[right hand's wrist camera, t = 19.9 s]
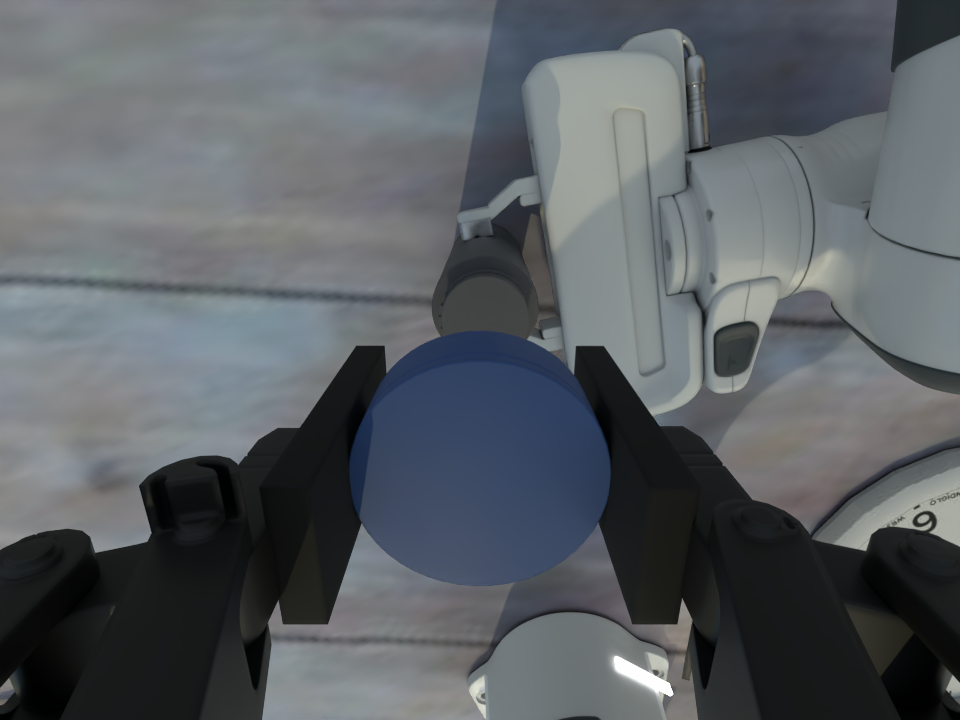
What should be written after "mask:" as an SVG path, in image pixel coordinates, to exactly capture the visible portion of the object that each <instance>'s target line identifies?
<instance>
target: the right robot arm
mask: <svg viewBox="0 0 960 720" xmlns="http://www.w3.org/2000/svg"><path fill="white" fill-rule="evenodd" d="M385 376H386V360H385V346H356V347H355V349H354V350H353V352H352V353H351V354H350V356H349V357H348V359H347V360H346V362H345V363H344V365H343V366H342V368H341V369H340V370H339V372H338V373H337V375H336V376H335V378H334V379H333V381H332V382H331V383H330V385H329V386H328V388H327V389H326V391H325V392H324V394H323V395H322V397H321V398H320V399H319V401H318V402H317V404H316V405H315V407H314V408H313V410H312V411H311V412H310V414H309V415H308V417H307V418H306V420H305V421H304V423H303V424H302V426H301V427H300V428H277V429H275V430H274V431H272V432H271V433H269V434H267V435H266V436H264V437H262V438H261V439H259V440H258V441H257V443H256V444H255V445H254V446H253V448H252V449H251V450H250V451H249V452H248V456H245V457H244V459H243V460H242V461H241V462H240V464H239V465H238V464H237V463H236V462H234V461H233V460H232V459H230V458H226V457H222V456H198V457H193V458H189V459H184V460H180V461H177V462H175V463H172V464H169V465H167V466H164V467H162V468H161V469H159V470H157V471H156V472H154V473H152V474H151V475H149V476H148V477H147V478H146V479H145V480H144V481H143V482H142V483H141V484H140V485H139V488H140V491H141V495H142V499H143V502H144V506H145V510H146V513H147V517H148V521H149V524H150V528H151V532H152V534H151V536H150V538H149V540H148V542H145V543H141V544H137V545H132V546H127V547H122V548H118V549H113V550H108V551H103V552H98V553H95V551H94V548H93V545H92V542H91V539H90V537H89V536H88V535H87V534H86V533H84V532H83V531H80V530H73V529H62V530H54V531H46V532H42V533H38V534H37V535H35V534H34V535H31V536H28V537H25V538H23V539H21V540H20V541H18V542H16V543H13V544H11V545H9V546H7V547H5V548H3V549H1V550H0V687H1V686H2V685H3V684H4V683H5V682H6V681H7V679H8V678H9V679H10V681H11V683H12V685H13V688H14V690H15V693H14V694H13V695H12V696H11V697H10V698H9V699H8V701H7V702H6V703H5V704H4V705H2V706H1V707H0V720H262V715H263V707H264V699H265V691H266V684H267V676H268V668H269V660H270V652H271V638H270V631H269V626H268V621H269V619H270V617H271V615H272V612H273V610H274V608H275V606H276V604H277V602H278V599H279V604H280V610H281V616H282V621H283V624H328V622H329V619H330V616H331V613H332V610H333V607H334V604H335V601H336V598H337V595H338V592H339V589H340V586H341V583H342V580H343V577H344V574H345V571H346V568H347V565H348V562H349V559H350V556H351V553H352V550H353V547H354V544H355V541H356V538H357V535H358V532H359V529H360V526H361V523H362V522H361V521H360V519H359V517H358V514H357V512H356V510H355V507H354V505H353V501H352V494H351V485H350V475H349V456H350V451H351V446H352V444H353V441H354V438H355V435H356V432H357V430H358V428H359V426H360V424H361V422H362V419H363V417H364V415H365V413H366V411H367V409H368V407H369V404H370V402H371V400H372V398H373V396H374V394H375V392H376V390H377V388H378V386H379V384H380V383H381V381H382V380H383V378H384V377H385ZM574 376H575V377H576V378H577V380H578V381H579V383H580V385H581V387H582V388H583V390H584V392H585V394H586V396H587V398H588V401H589V403H590V405H591V407H592V409H593V411H594V414H595V416H596V418H597V420H598V422H599V424H600V427H601V429H602V431H603V434H604V436H605V439H606V441H607V444H608V448H609V453H610V457H611V479H610V488H609V496H608V501H607V504H606V507H605V509H604V511H603V514H602V516H601V518H600V520H599V525H600V528H601V531H602V534H603V537H604V540H605V543H606V546H607V549H608V552H609V555H610V558H611V561H612V564H613V567H614V570H615V573H616V576H617V579H618V582H619V585H620V588H621V591H622V594H623V597H624V600H625V603H626V606H627V609H628V612H629V615H630V618H631V621H632V624H677V623H678V618H679V612H680V606H681V601H682V598H683V600H684V602H685V605H686V607H687V609H688V611H689V613H690V615H691V617H692V620H693V621H692V626H691V631H690V636H689V642H688V647H687V652H686V657H685V663H684V668H683V676H682V679H686V680H689V679H690V674H691V669H692V674H693V682H694V690H695V698H696V706H697V713H698V720H960V704H959V703H958V702H957V701H956V700H955V699H954V698H953V697H952V696H951V695H950V694H949V692H948V691H947V690H946V689H947V687H948V684H949V682H950V680H951V678H952V675H953V676H954V677H955V678H956V679H957V681H958V682H959V683H960V547H959V546H958V545H955V544H953V543H951V542H949V541H947V540H944V539H942V538H941V537H939V536H937V535H934V534H931V533H929V532H924V531H921V530H917V529H910V528H902V527H886V528H879V529H878V530H877V531H875V532H874V533H873V534H871V537H870V540H869V543H868V546H867V549H866V551H864V550H859V549H854V548H849V547H845V546H840V545H835V544H830V543H825V542H821V541H817V540H813V539H811V537H810V535H809V533H808V531H807V530H806V529H805V528H804V526H803V525H802V524H801V523H800V521H798V520H797V519H796V518H794V517H793V516H791V515H790V514H788V513H787V512H786V511H783V510H781V509H779V508H777V507H774V506H772V505H770V504H767V503H763V502H759V501H755V500H752V499H751V498H750V496H749V495H748V494H747V493H746V491H745V490H744V489H743V488H742V487H741V485H740V484H739V483H738V482H737V480H736V479H735V478H734V477H733V475H732V474H731V473H730V472H729V471H728V469H727V468H726V467H725V466H723V465H722V462H721V461H720V460H719V458H718V457H717V456H716V455H715V454H713V451H712V450H711V449H710V447H709V446H708V445H707V444H706V442H705V441H704V440H703V439H702V438H701V437H699V436H698V435H696V434H694V433H693V432H691V431H690V430H688V429H686V428H685V427H683V426H659V425H658V424H657V422H656V421H655V419H654V418H653V416H652V415H651V413H650V412H649V411H648V409H647V408H646V406H645V405H644V403H643V402H642V400H641V399H640V397H639V396H638V395H637V393H636V392H635V390H634V389H633V387H632V386H631V384H630V383H629V382H628V380H627V379H626V377H625V376H624V374H623V373H622V371H621V370H620V368H619V367H618V366H617V364H616V363H615V361H614V360H613V358H612V357H611V355H610V354H609V353H608V351H607V350H606V348H605V347H604V346H576V351H575V365H574Z"/></svg>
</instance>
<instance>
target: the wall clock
mask: <svg viewBox="0 0 960 720" xmlns="http://www.w3.org/2000/svg"><path fill="white" fill-rule="evenodd" d="M886 527H902V528H910V529H917V530H921V531H924V532H929V533H931V534H934V535H937V536H939V537H941V538H942V539H944V540H947V541H949V542H951V543H953V544H955V545H958V546H959V547H960V448H954V449H949V450H944V451H942V452H939V453H937V454H934V455H932V456H929V457H927V458H925V459H922V460H920V461H917V462H915V463H912V464H910V465H907V466H905V467H902V468H900V469H897V470H895V471H893V472H891V473H890V474H888V475H887V476H885V477H883V478H882V479H880V480H879V481H877V482H876V483H874V484H873V485H871V486H869V487H868V488H866V489H865V490H863V491H862V492H860V493H859V494H857V495H855V496H854V497H852V498H851V499H849V500H848V501H847V502H846V503H845V504H844V505H843V506H842V507H841V508H840V509H839V510H838V511H837V512H836V513H835V514H834V515H833V516H832V517H831V518H830V519H829V520H828V521H827V522H826V523H825V524H824V525H823V526H822V527H821V528H820V529H819V530H818V531H816V532H815V534H814V535H813V537H812V538H811V539H813V540H817V541H821V542H825V543H830V544H835V545H840V546H845V547H849V548H854V549H859V550H864V551H866V549H867V546H868V543H869V540H870V537H871V534H873V533H874V532H875V531H877V530H878V529H879V528H886ZM946 690H947V691H948V692H949V694H950V695H951V696H952V697H953V698H954V699H955V700H956V701H957V702H958V703H959V704H960V683H959V682H958V681H957V679H956V678H955V677H954V676H953V675H952V678H951V680H950V682H949V684H948V687H947V689H946Z"/></svg>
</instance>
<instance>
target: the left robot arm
mask: <svg viewBox="0 0 960 720" xmlns="http://www.w3.org/2000/svg"><path fill="white" fill-rule="evenodd" d="M683 46H684V48H685V49H686V51H687V54H688V57H687V58H685V59H684V50H683ZM891 71H892V72H894V73H895V74H894V79H893V85H892V90H891V95H890V101H889V106H888V111H885V112H879V113H874V114H869V115H864V116H859V117H854V118H850V119H846V120H844V121H841V122H838V123H836V124H834V125H832V126H830V127H828V128H826V129H824V130H822V131H820V132H818V133H815V134H812V135H807V136H789V135H772V136H765V137H761V138H756V139H751V140H747V141H742V142H737V143H732V144H728V145H723V146H718V147H713V148H712V147H710V135H709V119H708V110H707V105H706V99H705V98H706V96H705V93H704V92H705V82H706V63H705V59H704V56H703V54H697V52H696V49H695V46H694V44H693V42H692V40H691V39H690V38H689V37H688V36H687V35H686V34H685V33H683V32H682V31H680V30H677V29H674V28H662V29H658V30H653V31H649V32H645V33H640V34H637V35H634V36H632V37H630V38H629V39H627V40H626V41H625V42H624V43H623V44H622V45H621V46H620V47H619V48H618V50H613V51H598V52H587V53H579V54H571V55H565V56H559V57H554V58H549V59H545V60H542V61H540V62H538V63H537V64H536V65H535V66H534V67H533V68H532V70H531V71H530V72H529V74H528V75H527V77H526V79H525V81H524V83H523V85H522V89H521V94H522V101H523V107H524V114H525V120H526V126H527V133H528V139H529V145H530V152H531V158H532V165H533V171H534V175H533V176H528V177H523V178H519V179H514V180H513V181H512V182H511V183H510V184H509V185H507V186H506V187H505V188H504V189H503V190H502V191H501V192H500V193H499V194H498V195H497V196H496V197H494V198H493V199H492V200H491V201H490V202H489V203H488V206H485V207H480V208H475V209H470V210H466V211H462V212H459V213H457V214H456V215H457V220H458V225H459V229H460V233H461V238H462V241H466V240H471V239H474V238H475V237H476V236H479V237H486V236H491V235H493V230H492V225H491V220H492V219H493V218H494V217H495V216H496V215H498V214H499V213H500V212H501V211H502V210H503V209H504V208H505V207H507V206H508V205H509V204H510V203H511V202H512V201H513V200H514V199H516V198H517V197H518V202H519V203H520V204H521V205H522V206H528V205H533V204H538V203H539V209H540V215H541V222H542V228H543V234H544V241H545V247H546V253H547V260H548V266H549V273H550V279H551V285H552V292H553V298H554V304H555V311H556V317H552V318H547V319H543V320H540V321H539V326H540V329H537V328H534V330H533V331H532V333H531V335H530V336H529V338H528V339H527V340H529V341H531V342H533V343H535V344H537V345H539V346H541V347H543V348H544V349H546V350H548V351H554V350H560V349H562V355H563V361H564V364H565V365H566V366H567V367H568V368H569V369H570V371H571V372H572V373H573V375H574V365H575V351H576V346H604V347H605V348H606V350H607V351H608V353H609V354H610V355H611V357H612V358H613V360H614V361H615V363H616V364H617V366H618V367H619V368H620V370H621V371H622V373H623V374H624V376H625V377H626V379H627V380H628V382H629V383H630V384H631V386H632V387H633V389H634V390H635V392H636V393H637V395H638V396H639V397H640V399H641V400H642V402H643V403H644V405H645V406H646V408H647V409H648V411H649V412H650V413H651V415H652V416H654V415H658V414H661V413H665V412H668V411H671V410H674V409H676V408H679V407H681V406H683V405H684V404H686V403H687V402H689V401H690V400H691V399H692V398H694V397H695V395H696V394H697V393H698V391H699V390H700V387H701V385H702V384H703V385H704V386H706V387H707V388H709V389H710V390H712V391H713V392H715V393H730V392H735V391H738V390H740V389H742V388H743V387H744V386H745V385H746V384H747V382H748V380H749V378H750V375H751V372H752V368H753V365H754V362H755V359H756V356H757V353H758V349H759V346H760V343H761V341H762V338H763V335H764V332H765V329H766V327H767V324H768V322H769V319H770V317H771V314H772V312H773V310H774V308H775V305H776V303H777V301H778V299H783V298H786V297H789V296H791V295H794V294H796V293H799V292H803V291H808V290H813V291H819V292H823V293H825V294H827V295H828V296H829V297H830V298H831V299H832V302H831V306H832V309H833V310H834V312H835V313H836V314H837V315H838V316H839V317H840V319H841V320H842V321H843V322H844V323H845V324H846V325H847V326H848V327H849V328H850V329H851V330H852V331H853V332H854V333H855V334H856V335H857V336H858V337H859V338H860V339H861V340H862V341H863V342H864V343H865V344H866V345H867V346H869V347H870V348H871V349H872V350H873V351H874V352H875V353H876V354H877V355H878V356H880V357H881V358H882V359H883V360H884V361H885V362H886V363H888V364H889V365H890V366H891V367H893V368H894V369H895V370H897V371H898V372H900V373H901V374H903V375H905V376H906V377H908V378H910V379H911V380H913V381H915V382H917V383H919V384H921V385H923V386H926V387H929V388H932V389H935V390H939V391H943V392H948V393H953V394H960V0H897V10H896V21H895V32H894V43H893V53H892V63H891ZM689 150H690V151H689ZM686 151H689V152H688V153H686V154H685V152H686ZM490 218H491V219H490ZM668 667H669V662H668V658H667V654H666V652H665V650H663V649H662V648H660V647H658V646H655V645H653V644H650V643H646V642H643V641H640V640H638V639H636V638H635V637H634V636H632V635H631V634H630V633H629V632H628V631H626V630H625V629H624V628H623V627H621V626H620V625H618V624H616V623H614V622H613V621H610V620H608V619H606V618H603V617H600V616H597V615H592V614H587V613H579V612H562V613H554V614H548V615H544V616H540V617H537V618H534V619H532V620H529V621H527V622H525V623H523V624H521V625H520V626H518V627H516V628H515V629H513V630H512V631H511V632H510V633H508V634H507V635H506V636H505V637H504V638H503V639H502V640H501V642H500V643H499V644H498V646H497V647H496V649H495V651H494V653H493V654H492V656H491V658H490V659H489V660H488V662H487V663H485V664H484V665H482V666H481V667H479V668H478V669H477V670H475V671H474V672H473V673H472V674H471V675H470V676H469V678H468V688H469V692H470V694H471V696H472V698H473V699H474V701H475V703H476V704H477V706H478V708H479V709H480V711H481V713H482V714H483V716H484V718H485V720H667V719H666V715H665V712H664V708H663V705H662V703H663V697H664V693H665V694H667V695H669V696H671V695H673V693H672V690H671V687H670V684H669V683H667V682H666V679H667V673H668Z"/></svg>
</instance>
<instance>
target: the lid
mask: <svg viewBox="0 0 960 720" xmlns="http://www.w3.org/2000/svg"><path fill="white" fill-rule="evenodd" d="M349 475H350V485H351V494H352V501H353V505H354V507H355V510H356V512H357V514H358V517H359V519H360V521H361V522H362V524H363V526H364V527H365V529H366V530H367V532H368V533H369V534H370V536H371V537H372V538H373V539H374V541H375V542H376V543H377V544H378V545H379V546H380V547H381V548H382V549H383V550H384V551H385V552H386V553H387V554H389V555H390V556H391V557H393V558H394V559H395V560H397V561H398V562H399V563H401V564H403V565H405V566H406V567H408V568H410V569H411V570H413V571H415V572H418V573H420V574H422V575H425V576H427V577H430V578H433V579H436V580H440V581H443V582H448V583H453V584H458V585H469V586H492V585H500V584H507V583H512V582H516V581H521V580H524V579H527V578H530V577H533V576H535V575H538V574H540V573H542V572H544V571H546V570H549V569H550V568H552V567H554V566H555V565H557V564H559V563H560V562H562V561H563V560H565V559H566V558H567V557H568V556H570V555H571V554H572V553H574V552H575V551H576V550H577V549H578V548H579V547H580V546H581V545H582V544H583V543H584V542H585V541H586V539H587V538H588V537H589V535H590V534H591V533H592V532H593V530H594V529H595V527H596V525H597V524H598V522H599V520H600V518H601V516H602V514H603V511H604V509H605V507H606V504H607V501H608V496H609V488H610V479H611V457H610V453H609V448H608V444H607V441H606V439H605V436H604V434H603V431H602V429H601V427H600V424H599V422H598V420H597V418H596V416H595V414H594V411H593V409H592V407H591V405H590V403H589V401H588V398H587V396H586V394H585V392H584V390H583V388H582V387H581V385H580V383H579V381H578V380H577V378H576V377H575V376H574V375H573V373H572V372H571V371H570V369H569V368H568V367H567V366H566V365H565V364H564V363H563V362H562V361H560V360H559V359H558V358H557V357H556V356H554V355H553V354H552V353H550V352H549V351H548V350H546V349H544V348H543V347H541V346H539V345H537V344H535V343H533V342H531V341H529V340H526V339H523V338H521V337H518V336H514V335H510V334H506V333H502V332H493V331H466V332H459V333H453V334H449V335H446V336H442V337H439V338H436V339H434V340H431V341H429V342H426V343H424V344H422V345H421V346H419V347H417V348H416V349H414V350H412V351H411V352H409V353H408V354H407V355H405V356H404V357H403V358H402V359H400V360H399V361H398V362H397V363H396V364H395V365H394V366H393V367H392V368H391V369H390V370H389V372H388V373H387V374H386V376H385V377H384V378H383V380H382V381H381V383H380V384H379V386H378V388H377V390H376V392H375V394H374V396H373V398H372V400H371V402H370V404H369V407H368V409H367V411H366V413H365V415H364V417H363V419H362V422H361V424H360V426H359V428H358V430H357V432H356V435H355V438H354V441H353V444H352V446H351V451H350V456H349Z"/></svg>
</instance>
